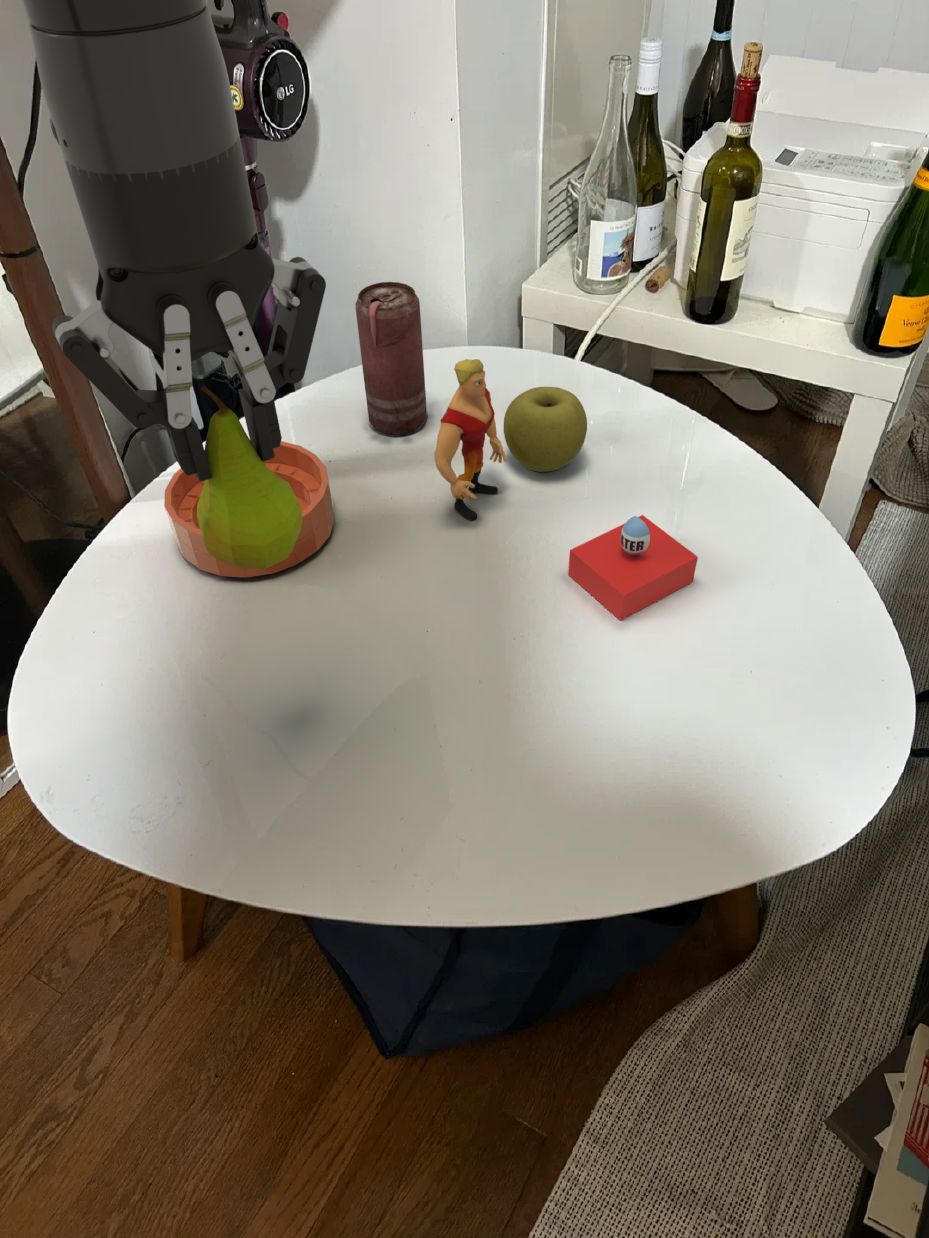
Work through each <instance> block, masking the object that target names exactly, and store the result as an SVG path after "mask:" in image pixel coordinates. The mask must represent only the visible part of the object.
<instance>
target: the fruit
mask: <svg viewBox="0 0 929 1238" xmlns="http://www.w3.org/2000/svg"><path fill="white" fill-rule="evenodd" d="M200 391H202V392H204V394H206V395H207V396H209V398H210V399H212V400H213V401H214V403H215V404H216V405H217V407H218V408H219V409H218V411H216V412H215V413H213V415H212V417H211V418H210V421H209V426H208V431H207V434H206V438H205V443H204V450H205V454H206V458H207V461H208V465H209V469H210V472H211V476H212V478H211V479H208V480H205V481H204V486H203V489H202V492H201V496H200V499H199V502H198V505H197V518H198V522H199V526H200V529H201V533H202V536H203V539H204V543H205V546H206V548H207V550H208V552H209V553H210V554H211V555H212V556H213V557H215V558H216V559H217V560H220V561H223V562H225V563H228V564H231V565H233V566H236V567H239V568H253V569H267V568H269V567H271V566H273V565H275V564H277V563H279V562H281V561H283V560H285V559H287V558H288V557H289V556H290V554H291V552H292V550H293V548H294V545H295V543H296V541H297V538H298V536H299V534H300V531H301V527H302V510H301V508H300V505H299V503H298V501H297V499H296V496H295V494H294V492H293V490H292V488H291V486H290V484H289V483H288V482H286V481H285V480H283V479H282V478H280V477H279V476H278V475H276V474H275V473H273V472H272V471H271V470H270V469H269V468H268V466H267V465H266V464H265V462H262V460H261V458H260V456H259V455H258V453H257V451H256V449H255V448H254V446H253V444H252V443H251V441H250V438H249V435H248V434H247V433H246V430H245V428H244V426H243V424H242V422H241V421H240V420H239V417H238V415H237V414H236V413H235V412H234V411H232V410H231V409H230V408H228V406H227V405H226V404H225V403H224V402H223V401H222V400H221V399H220V398H219V397H218V396H217V395H216V394H215V393H214V392H212V391H211V390H210V389H209V388H208V387H206V386H205V385H202V386H201V387H200Z"/></svg>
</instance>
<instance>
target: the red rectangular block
mask: <svg viewBox="0 0 929 1238" xmlns="http://www.w3.org/2000/svg"><path fill="white" fill-rule="evenodd" d="M698 558H699V556H698V555H696V554H694V552H692V551H691V550H690V549H688V548H687V547H686V546H684V545H683V544H682V543H681V542H679V541H678V540H677V539H675V538H674V537H672V536H671V535H670V534H669V533H667V532H666V531H664V530H663V529H662V528H661V527H659V526H658V525H657V524H655V523H654V522H653V521H652V520H650V519H649V518H647V516H645V515H644V514H641V515H639V516H637V515H636V516H635V515H634V516H632V517H630V518H629V519H628V520H627V521H626V522H624V523H622V524H621V525H618V526H616V527H614V528H613V529H610V530H608V531H606V532H604V533H602V534H599V535H598V536H596V537H594V538H591V539H590V540H588V541H585V542H583V543H581V544H579V545H577V546H575V547H573V548H571V549H570V550H569V558H568V571H567V575H568V577H570V578H571V579H572V580H574V582H575V583H577V584H578V585H579V586H580V587H581V588H583V589H584V590H585V592H587V593H588V594H589V595H590V596H591V597H593V598H594V599H595V600H596V601H597V602H598V603H600V605H602V606H603V607H604V608H605V609H606V610H607V611H609V612H610V613H611V614H612V615H613V616H614V617H615V618H616V619H618V620H619V621H622V620H625V619H626V618H628V617H630V616H632V615H634V614H635V613H637V612H639V611H641V610H643V609H646V608H647V607H649V606H651V605H652V604H654V603H656V602H658V601H660V600H662V599H664V598H665V597H667V596H670V595H671V594H673V593H675V592H677V591H678V590H680V589H682V588H685V587H686V586H688V585H689V584H692V583H693V582H694V578H695V573H696V570H697V569H696V568H697V563H698Z"/></svg>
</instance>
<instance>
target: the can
mask: <svg viewBox="0 0 929 1238" xmlns="http://www.w3.org/2000/svg"><path fill="white" fill-rule="evenodd" d="M420 303H421V302H420V298H419V297H418V295H417V293H416V290H415V289H414V288H413V286H410V285H408V284H406V283H403V282H399V281H398V282H397V281H381V282H376V283H373V284H370V285H368V286H365V287H364V288H363V289H361V290H360V291H359V292H358V294H357V299H356V301H355V305H354V306H355V314H356V324H357V330H358V332H357V333H358V340H359V341H358V342H359V349H360V357H361V365H362V366H361V367H362V375H363V384H364V391H365V399H366V408H367V418H368V422H369V423H370V426H372V428H373V429H374V430H375V431H376V432H378V433H380V434H383V435H386V436H391V437H399V436H400V437H402V436H407V435H410V434H414V433H415V432H417V431H419V430H420V429H421V428H422V427H423V425H424V424H425V422H426V420H427V418H428V410H427V408H428V407H427V393H426V379H425V378H426V377H425V364H424V363H425V361H424V348H423V333H422V317H421V304H420Z"/></svg>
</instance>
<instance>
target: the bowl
mask: <svg viewBox="0 0 929 1238" xmlns="http://www.w3.org/2000/svg"><path fill="white" fill-rule="evenodd" d="M273 449H274V454H275V458H273V459H270V460H267V461H264V462H265V464H266V465H267V466H268V468H269V469H270V470H271V471H272V472H273V473H275V474H276V475H278V476H279V477H280V478H282V479H283V480H285V481H286V482H288V483H289V484H290V486H291V488H292V490H293V492H294V494H295V496H296V499H297V501H298V503H299V505H300V508H301V510H302V527H301V531H300V534H299V536H298V538H297V541H296V543H295V545H294V548H293V550H292V552H291V554H290V556H289V557H288V558H287V559H285V560H283V561H281V562H279V563H277V564H275V565H273V566H271V567H269V568H267V569H253V568H239V567H236V566H233V565H231V564H228V563H225V562H223V561H220V560H217V559H216V558H215V557H213V556H212V555H211V554H210V553H209V552H208V550H207V548H206V546H205V543H204V539H203V536H202V533H201V529H200V526H199V522H198V518H197V505H198V502H199V499H200V496H201V492H202V489H203V486H204V481H202V482H199V481H198V479H197V478H196V476H195V474H192V475H189V476H187V475H186V474H185V472H184V471H183V470H182V469H181V467H180V468H179V469H178V470H177V471H176V472H175V473H174V474H173V475H172V476H171V479H170V480H169V482H168V483H167V486H166V487H165V489H164V499H163V501H164V503H163V504H164V505H163V506H164V509H165V512H166V515H167V519H168V521H169V524H170V527H171V531H172V534H173V537H174V540H175V543H176V545H177V547H178V549H179V551H180V554H181V555H182V557H183V558H184V559H185V560H186V561H188V562H189V563H190V564H192V565H193V566H194V567H196V568H197V569H199V570H200V571H204V572H208V573H210V574H212V575H217V576H220V577H230V578H231V577H233V578H252V577H258V576H265V575H266V576H267V575H272V574H275V573H278V572H281V571H284V570H286V569H289V568H291V567H294V566H297V565H298V564H301V562H303V561H304V560H306V559H307V558H309V557H310V556H312V555H314V554H315V553H317V552H318V551H319V550H320V549H321V547H322V546H323V545H324V543H326V541H327V540H328V539H329V537H331V533H332V530H333V526H334V523H335V520H336V519H335V512H334V506H333V500H332V495H331V488H330V482H329V476H328V470H327V469H328V468H327V467H326V465H325V464H324V463H323V461H322V460H321V459H320V457H319V456H318V455H317V454H316V453H314V452H312V451H310V450H309V449H307V448H305V447H303V446H301V445H299V444H295V443H291V442H287V441H283V440H281V444H280V447H276V448H273Z"/></svg>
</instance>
